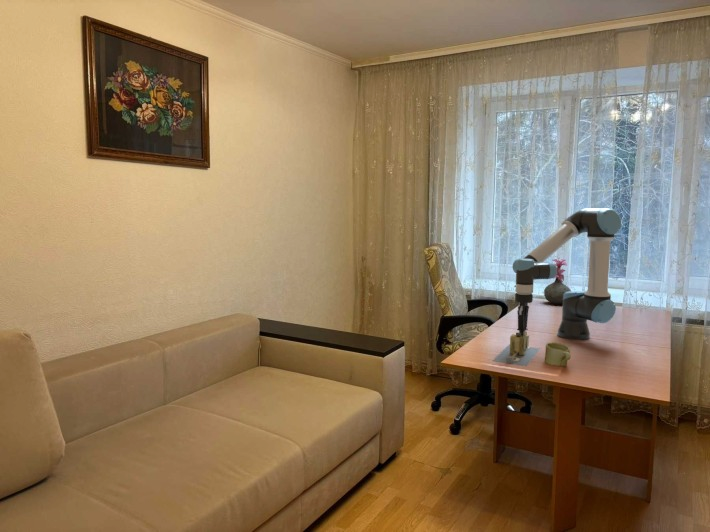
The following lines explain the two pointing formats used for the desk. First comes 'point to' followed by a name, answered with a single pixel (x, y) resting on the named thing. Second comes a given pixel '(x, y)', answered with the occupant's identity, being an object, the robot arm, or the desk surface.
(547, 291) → the vase
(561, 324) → the robot arm
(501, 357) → the board
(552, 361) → the mug
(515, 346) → the trammel head
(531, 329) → the desk surface
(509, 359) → the rail
